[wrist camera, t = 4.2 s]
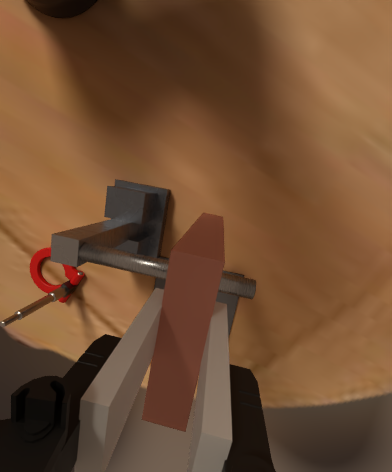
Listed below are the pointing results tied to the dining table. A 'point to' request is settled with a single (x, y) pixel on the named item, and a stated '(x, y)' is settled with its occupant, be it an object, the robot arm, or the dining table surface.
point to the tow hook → (47, 286)
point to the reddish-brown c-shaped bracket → (185, 322)
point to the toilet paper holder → (131, 237)
